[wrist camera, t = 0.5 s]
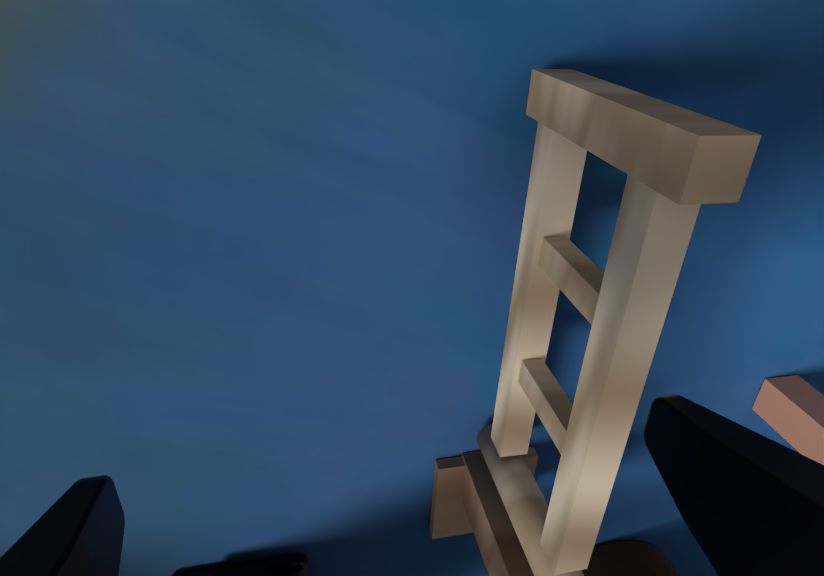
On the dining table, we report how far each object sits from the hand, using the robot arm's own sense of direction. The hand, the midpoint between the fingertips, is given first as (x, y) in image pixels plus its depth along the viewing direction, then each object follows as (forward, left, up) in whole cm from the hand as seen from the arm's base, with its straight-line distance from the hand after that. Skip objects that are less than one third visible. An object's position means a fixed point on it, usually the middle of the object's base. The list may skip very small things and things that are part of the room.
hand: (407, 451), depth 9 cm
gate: (-4, -7, -11) cm, 14 cm away
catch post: (-12, -23, -12) cm, 28 cm away
